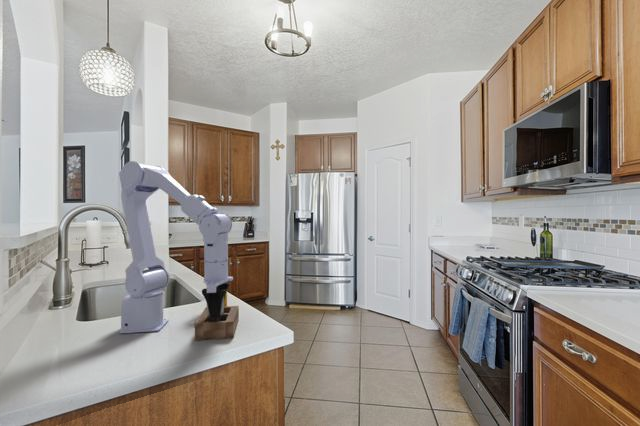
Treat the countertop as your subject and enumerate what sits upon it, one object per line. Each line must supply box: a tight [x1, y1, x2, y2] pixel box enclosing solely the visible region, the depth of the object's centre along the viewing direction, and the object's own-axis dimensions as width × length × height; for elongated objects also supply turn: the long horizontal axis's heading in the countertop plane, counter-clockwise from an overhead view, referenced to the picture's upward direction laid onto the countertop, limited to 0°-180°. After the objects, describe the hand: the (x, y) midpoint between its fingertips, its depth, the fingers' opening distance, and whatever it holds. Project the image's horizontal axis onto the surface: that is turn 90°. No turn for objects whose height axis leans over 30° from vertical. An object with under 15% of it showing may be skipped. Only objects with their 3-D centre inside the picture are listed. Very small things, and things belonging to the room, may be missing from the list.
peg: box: [206, 297, 224, 322], centre depth 78 cm, size 4×4×7 cm
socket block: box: [194, 305, 240, 342], centre depth 81 cm, size 9×13×4 cm
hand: (216, 314), depth 78 cm, fingers closed on peg, 4 cm apart
